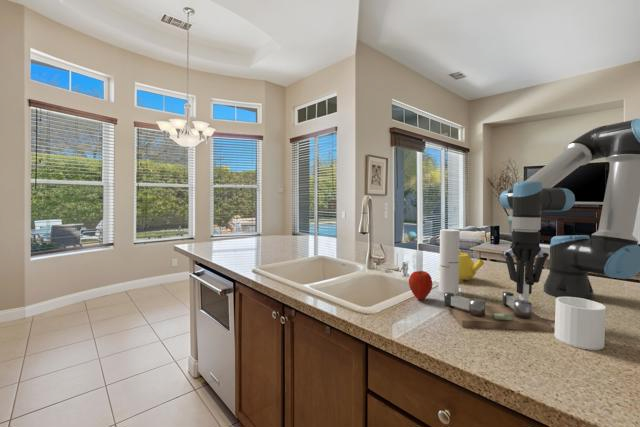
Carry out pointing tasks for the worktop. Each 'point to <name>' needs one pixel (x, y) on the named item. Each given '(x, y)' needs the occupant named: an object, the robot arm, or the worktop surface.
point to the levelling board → (498, 324)
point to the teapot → (467, 267)
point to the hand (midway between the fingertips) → (523, 303)
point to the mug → (580, 322)
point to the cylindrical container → (449, 261)
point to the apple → (420, 284)
